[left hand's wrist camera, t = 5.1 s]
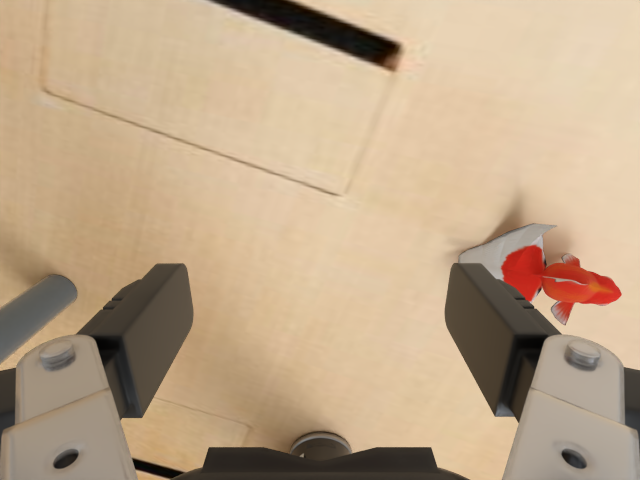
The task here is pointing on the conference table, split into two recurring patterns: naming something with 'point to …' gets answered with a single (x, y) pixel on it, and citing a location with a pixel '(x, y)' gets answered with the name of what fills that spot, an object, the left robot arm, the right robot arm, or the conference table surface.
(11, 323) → the grey tall cylinder
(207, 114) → the conference table surface
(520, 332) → the left robot arm
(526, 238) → the fish
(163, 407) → the conference table surface
